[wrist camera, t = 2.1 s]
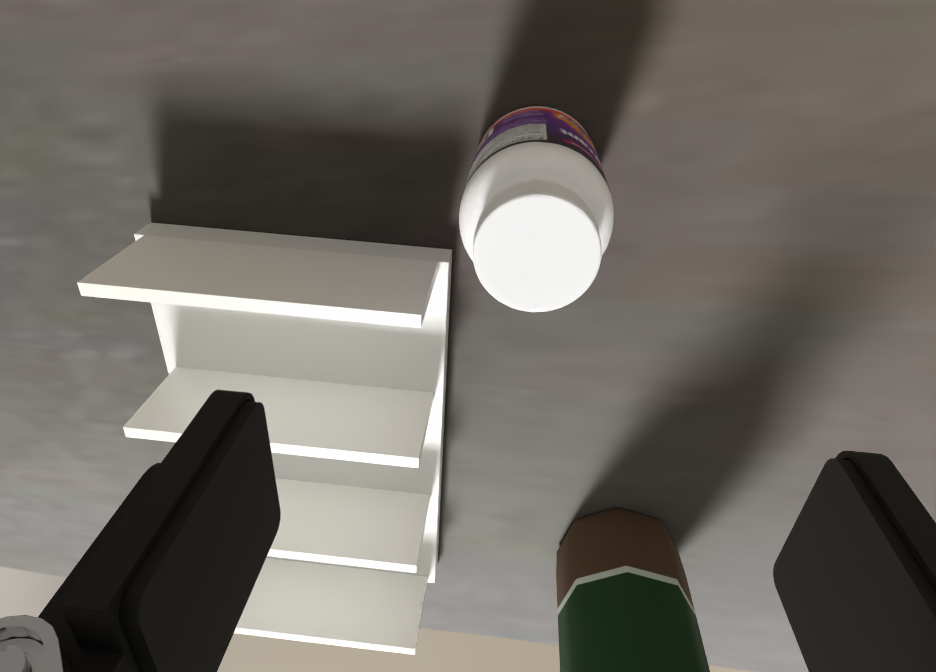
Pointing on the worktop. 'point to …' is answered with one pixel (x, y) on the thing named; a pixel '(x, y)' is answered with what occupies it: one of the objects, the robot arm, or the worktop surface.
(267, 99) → the worktop surface
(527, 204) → the pill bottle
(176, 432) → the shelf rack
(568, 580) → the beer bottle
